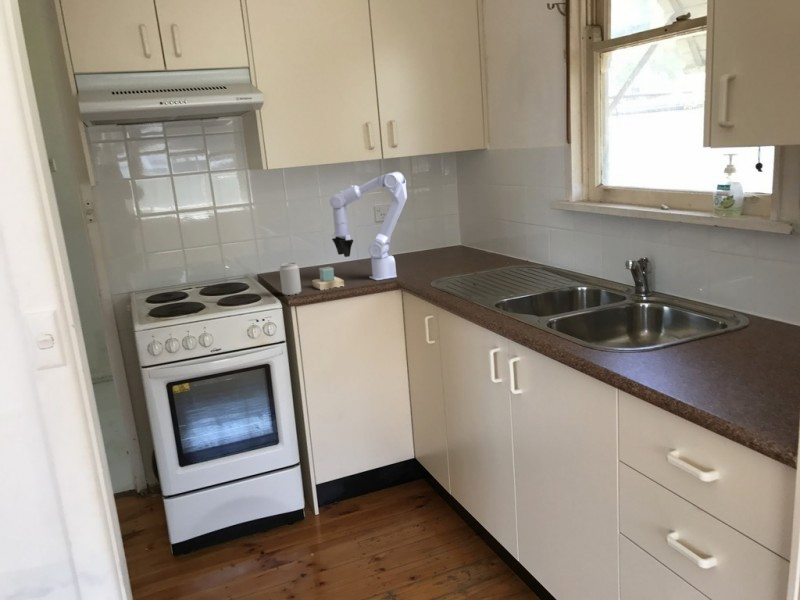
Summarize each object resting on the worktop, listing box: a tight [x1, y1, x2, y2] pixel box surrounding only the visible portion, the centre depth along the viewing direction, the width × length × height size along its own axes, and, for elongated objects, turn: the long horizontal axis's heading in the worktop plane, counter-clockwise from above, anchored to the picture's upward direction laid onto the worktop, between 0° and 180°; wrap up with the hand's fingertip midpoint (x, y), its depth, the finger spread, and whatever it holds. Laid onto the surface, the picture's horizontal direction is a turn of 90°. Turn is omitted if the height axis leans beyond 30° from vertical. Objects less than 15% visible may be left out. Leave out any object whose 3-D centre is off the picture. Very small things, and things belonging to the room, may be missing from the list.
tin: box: [318, 266, 335, 282], centre depth 266 cm, size 4×4×5 cm
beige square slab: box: [311, 275, 345, 291], centre depth 267 cm, size 10×10×3 cm
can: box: [278, 262, 302, 296], centre depth 257 cm, size 8×8×12 cm
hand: (344, 255), depth 277 cm, fingers open, 7 cm apart
